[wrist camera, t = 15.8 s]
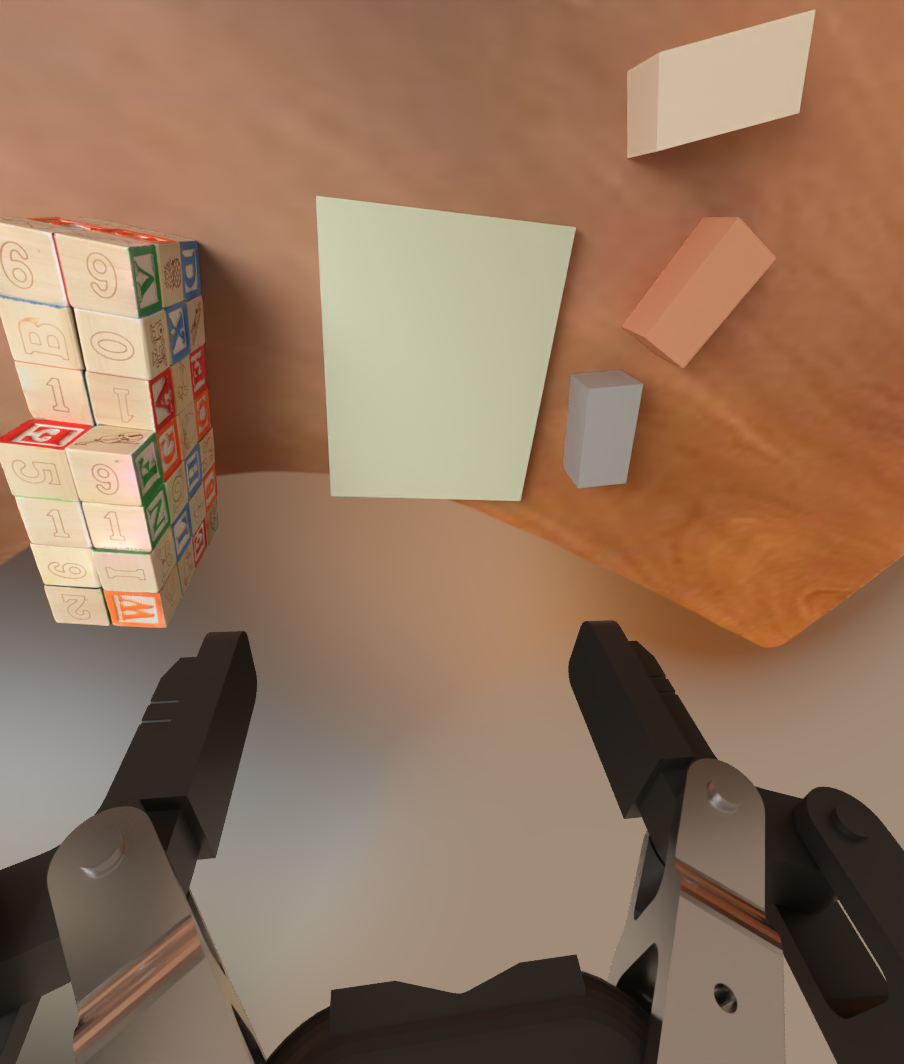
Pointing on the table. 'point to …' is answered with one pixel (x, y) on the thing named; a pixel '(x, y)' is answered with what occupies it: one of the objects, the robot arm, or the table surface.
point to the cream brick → (718, 85)
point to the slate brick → (601, 427)
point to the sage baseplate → (435, 347)
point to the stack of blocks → (109, 414)
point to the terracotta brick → (699, 288)
